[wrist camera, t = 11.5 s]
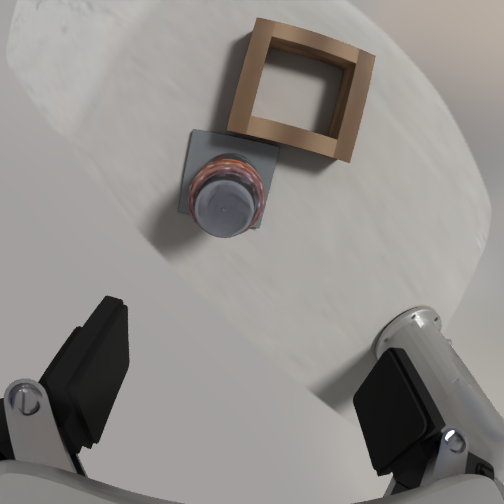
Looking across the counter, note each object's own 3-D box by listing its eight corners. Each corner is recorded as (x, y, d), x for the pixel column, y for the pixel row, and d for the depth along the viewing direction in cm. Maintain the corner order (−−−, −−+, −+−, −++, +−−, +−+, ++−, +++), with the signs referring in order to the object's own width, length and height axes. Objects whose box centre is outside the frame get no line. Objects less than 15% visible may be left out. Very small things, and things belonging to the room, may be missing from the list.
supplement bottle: (196, 201, 29) (171, 241, 19) (207, 146, 27) (186, 155, 17) (251, 213, 30) (256, 259, 20) (265, 159, 28) (279, 176, 17)
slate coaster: (279, 147, 28) (280, 147, 27) (258, 226, 31) (259, 228, 31) (194, 129, 27) (193, 129, 26) (179, 210, 30) (177, 211, 30)
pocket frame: (362, 62, 24) (375, 55, 20) (338, 159, 28) (349, 162, 25) (255, 29, 22) (256, 17, 19) (228, 130, 27) (226, 130, 24)
